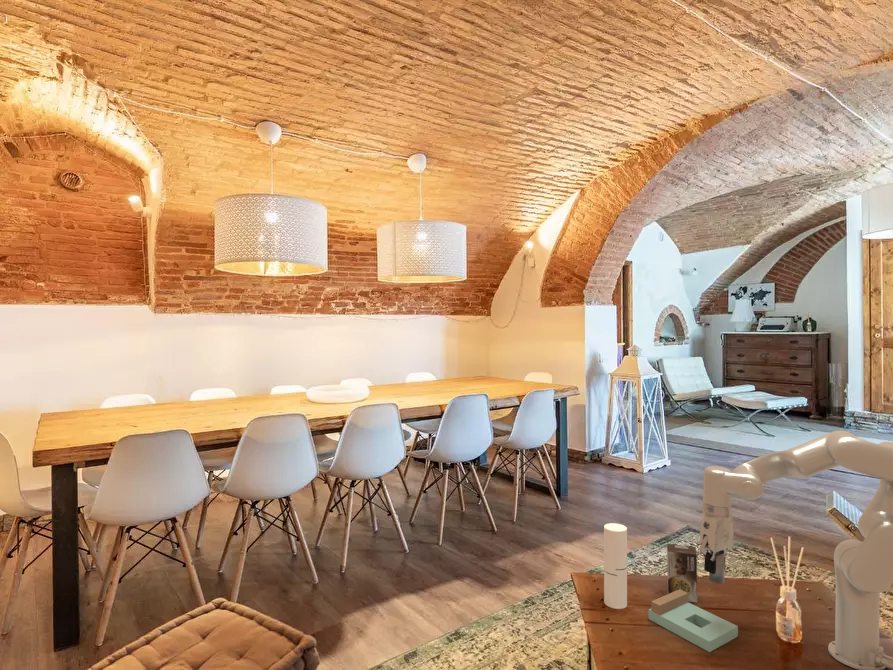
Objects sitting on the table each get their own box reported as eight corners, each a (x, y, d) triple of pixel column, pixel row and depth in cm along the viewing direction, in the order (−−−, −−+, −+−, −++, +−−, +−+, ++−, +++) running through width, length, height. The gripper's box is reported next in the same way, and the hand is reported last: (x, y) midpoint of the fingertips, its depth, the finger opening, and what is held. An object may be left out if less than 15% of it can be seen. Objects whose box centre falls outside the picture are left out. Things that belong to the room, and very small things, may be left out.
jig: (737, 636, 158) (738, 616, 158) (709, 652, 150) (709, 631, 150) (676, 606, 175) (676, 587, 175) (648, 619, 167) (648, 599, 167)
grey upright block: (727, 581, 160) (727, 554, 160) (719, 584, 158) (719, 557, 157) (714, 575, 163) (714, 549, 163) (706, 579, 161) (706, 552, 161)
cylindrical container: (630, 608, 173) (629, 531, 173) (607, 608, 174) (607, 531, 173) (623, 597, 181) (623, 523, 180) (601, 597, 181) (601, 523, 180)
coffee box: (696, 594, 182) (696, 546, 182) (697, 603, 176) (697, 554, 176) (667, 589, 186) (667, 542, 185) (667, 598, 180) (667, 550, 179)
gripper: (711, 518, 153) (709, 582, 153) (745, 508, 161) (743, 569, 162) (687, 510, 159) (685, 571, 160) (721, 501, 168) (719, 559, 168)
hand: (714, 569), depth 161 cm, fingers closed on grey upright block, 4 cm apart
